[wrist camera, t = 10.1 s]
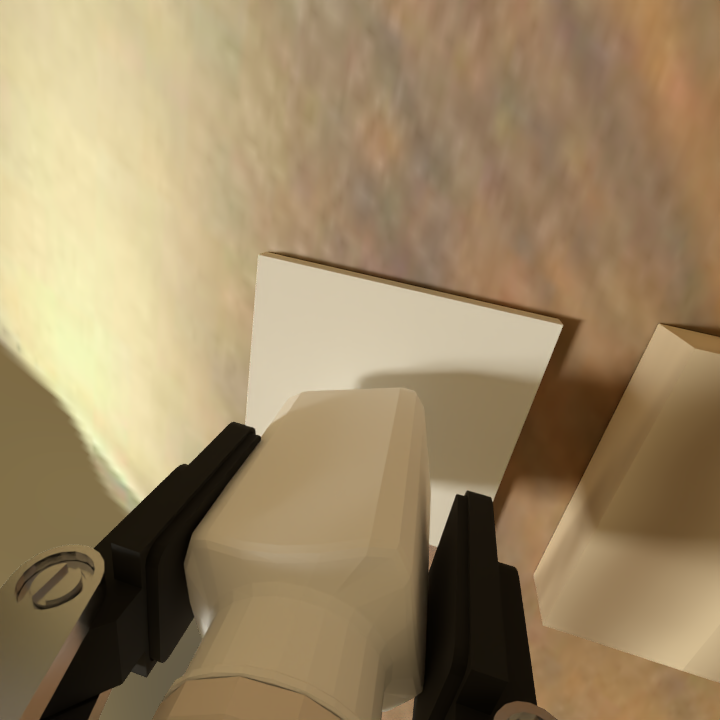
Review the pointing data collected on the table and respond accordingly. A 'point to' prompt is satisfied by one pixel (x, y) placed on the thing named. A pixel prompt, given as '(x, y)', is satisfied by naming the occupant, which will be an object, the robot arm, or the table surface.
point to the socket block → (648, 517)
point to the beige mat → (402, 362)
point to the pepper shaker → (314, 567)
